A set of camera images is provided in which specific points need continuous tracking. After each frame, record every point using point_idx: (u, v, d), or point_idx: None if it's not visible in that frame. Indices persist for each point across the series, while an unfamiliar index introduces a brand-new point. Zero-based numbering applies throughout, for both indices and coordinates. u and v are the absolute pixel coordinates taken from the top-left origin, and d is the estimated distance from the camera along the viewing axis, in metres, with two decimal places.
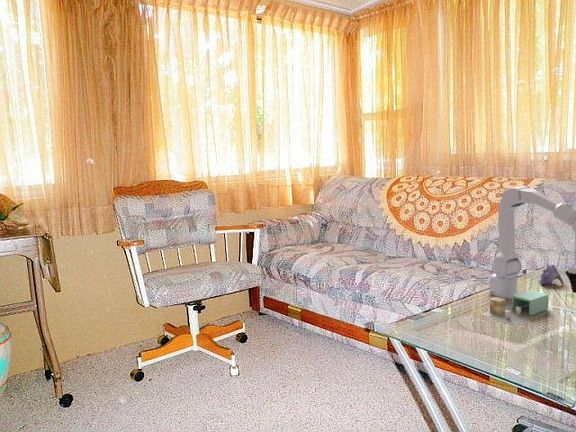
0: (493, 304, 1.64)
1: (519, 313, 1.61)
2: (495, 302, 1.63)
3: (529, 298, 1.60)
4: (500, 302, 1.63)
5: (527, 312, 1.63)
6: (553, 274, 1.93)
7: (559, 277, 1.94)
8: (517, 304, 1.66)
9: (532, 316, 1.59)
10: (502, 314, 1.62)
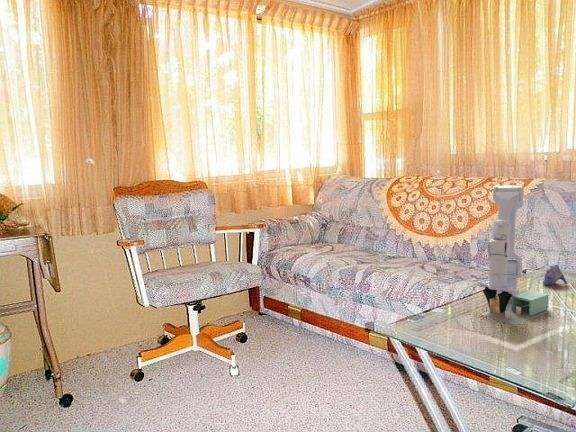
0: (493, 304, 1.64)
1: (519, 313, 1.61)
2: (495, 302, 1.63)
3: (529, 298, 1.60)
4: None
5: (527, 312, 1.63)
6: (556, 275, 1.93)
7: (562, 277, 1.93)
8: (517, 304, 1.66)
9: (532, 316, 1.59)
10: (502, 314, 1.62)
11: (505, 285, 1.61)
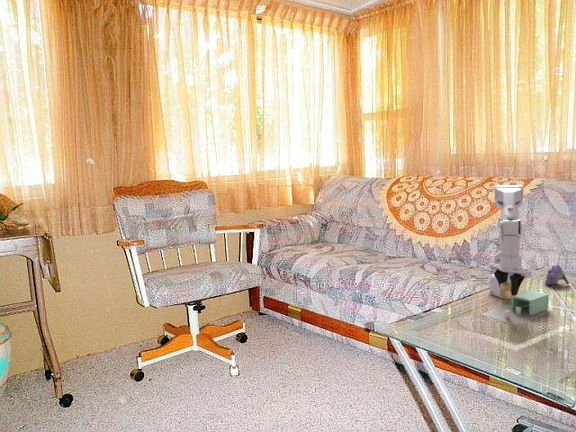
0: (504, 288, 1.59)
1: (519, 313, 1.61)
2: (505, 287, 1.59)
3: (529, 298, 1.60)
4: (511, 286, 1.58)
5: (527, 312, 1.63)
6: (558, 275, 1.92)
7: (564, 277, 1.93)
8: (517, 304, 1.66)
9: (532, 316, 1.59)
10: (502, 314, 1.62)
11: (517, 267, 1.57)
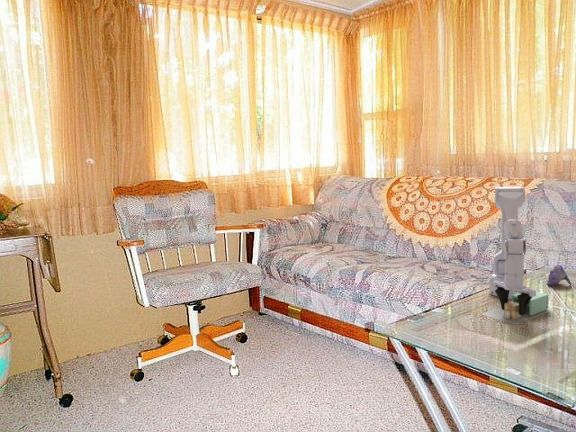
0: (508, 309, 1.59)
1: None
2: (510, 307, 1.58)
3: None
4: (515, 307, 1.57)
5: (527, 312, 1.63)
6: (560, 275, 1.92)
7: (566, 278, 1.93)
8: None
9: (532, 316, 1.59)
10: (502, 314, 1.62)
11: (521, 286, 1.56)
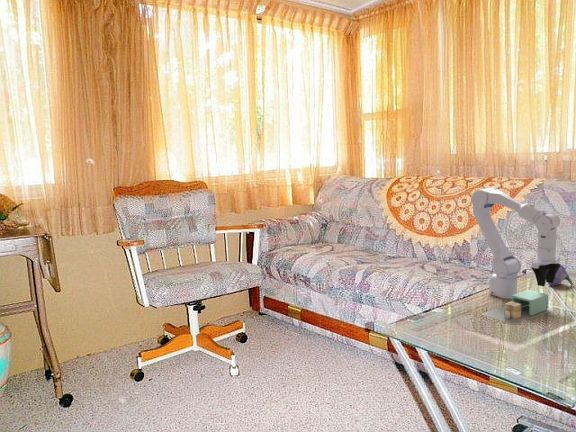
0: (508, 309, 1.59)
1: None
2: (510, 307, 1.58)
3: (529, 298, 1.60)
4: (515, 307, 1.57)
5: (527, 312, 1.63)
6: (562, 275, 1.92)
7: (568, 278, 1.93)
8: None
9: (532, 316, 1.59)
10: (502, 314, 1.62)
11: None
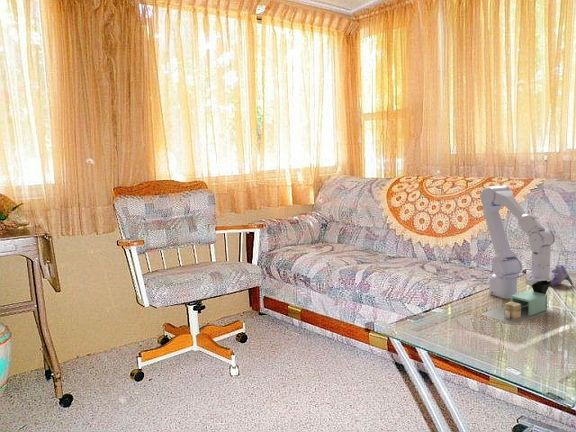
0: (508, 309, 1.59)
1: None
2: (510, 307, 1.58)
3: (528, 298, 1.60)
4: (515, 307, 1.57)
5: (527, 312, 1.63)
6: (562, 275, 1.91)
7: (568, 278, 1.92)
8: None
9: (532, 316, 1.59)
10: (502, 314, 1.62)
11: None
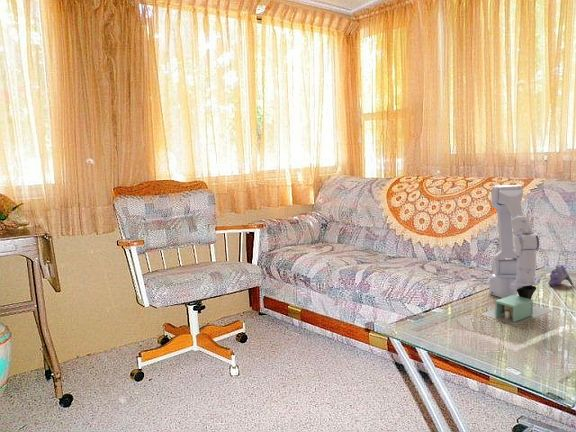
0: (508, 309, 1.59)
1: None
2: (510, 307, 1.58)
3: (513, 304, 1.56)
4: None
5: None
6: (562, 275, 1.91)
7: (568, 278, 1.92)
8: (501, 309, 1.61)
9: (532, 316, 1.59)
10: (502, 314, 1.62)
11: None
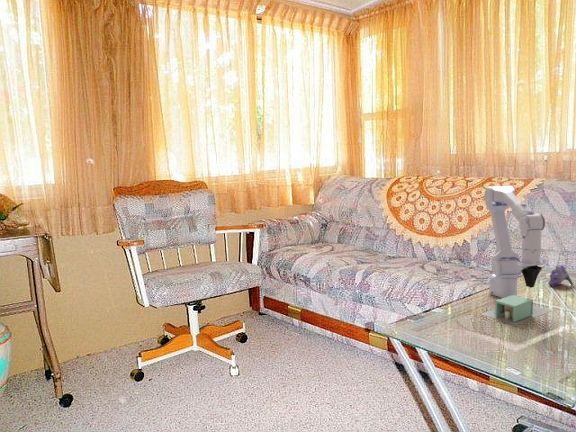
0: (508, 309, 1.59)
1: None
2: (510, 307, 1.58)
3: (513, 304, 1.56)
4: None
5: None
6: (562, 275, 1.91)
7: (568, 278, 1.92)
8: (501, 309, 1.61)
9: (532, 316, 1.59)
10: (502, 314, 1.62)
11: None
